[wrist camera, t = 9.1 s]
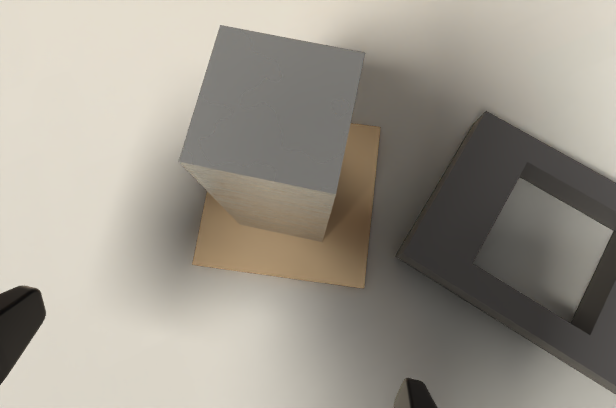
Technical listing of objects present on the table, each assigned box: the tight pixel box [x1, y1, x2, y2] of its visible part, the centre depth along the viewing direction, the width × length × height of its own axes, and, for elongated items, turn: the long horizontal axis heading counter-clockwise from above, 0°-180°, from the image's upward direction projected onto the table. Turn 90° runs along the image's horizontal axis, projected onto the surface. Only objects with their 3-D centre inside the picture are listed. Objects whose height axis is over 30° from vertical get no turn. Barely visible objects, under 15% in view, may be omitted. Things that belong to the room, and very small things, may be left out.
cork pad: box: [192, 123, 380, 288], centre depth 19 cm, size 8×8×1 cm
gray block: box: [179, 25, 365, 242], centre depth 14 cm, size 4×4×9 cm
